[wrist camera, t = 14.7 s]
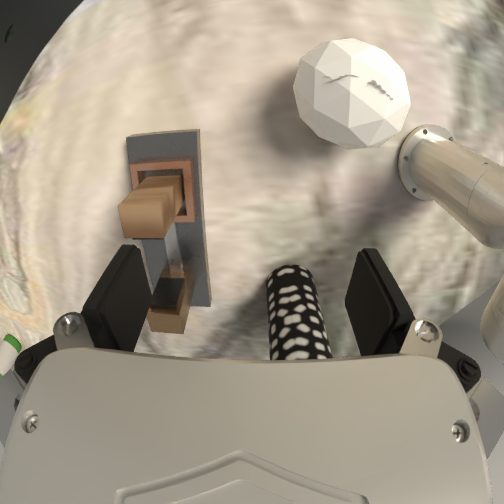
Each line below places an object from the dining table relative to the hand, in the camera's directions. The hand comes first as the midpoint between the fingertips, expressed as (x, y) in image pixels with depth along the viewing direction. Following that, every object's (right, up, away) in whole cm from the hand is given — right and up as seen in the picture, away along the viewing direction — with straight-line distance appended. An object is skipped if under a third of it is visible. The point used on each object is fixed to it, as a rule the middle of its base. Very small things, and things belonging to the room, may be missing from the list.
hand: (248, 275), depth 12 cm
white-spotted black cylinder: (+7, -4, +37) cm, 38 cm away
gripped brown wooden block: (-12, +10, +25) cm, 29 cm away
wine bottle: (-85, -31, +55) cm, 105 cm away
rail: (-12, +5, +31) cm, 33 cm away
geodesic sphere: (+11, +22, +19) cm, 32 cm away
